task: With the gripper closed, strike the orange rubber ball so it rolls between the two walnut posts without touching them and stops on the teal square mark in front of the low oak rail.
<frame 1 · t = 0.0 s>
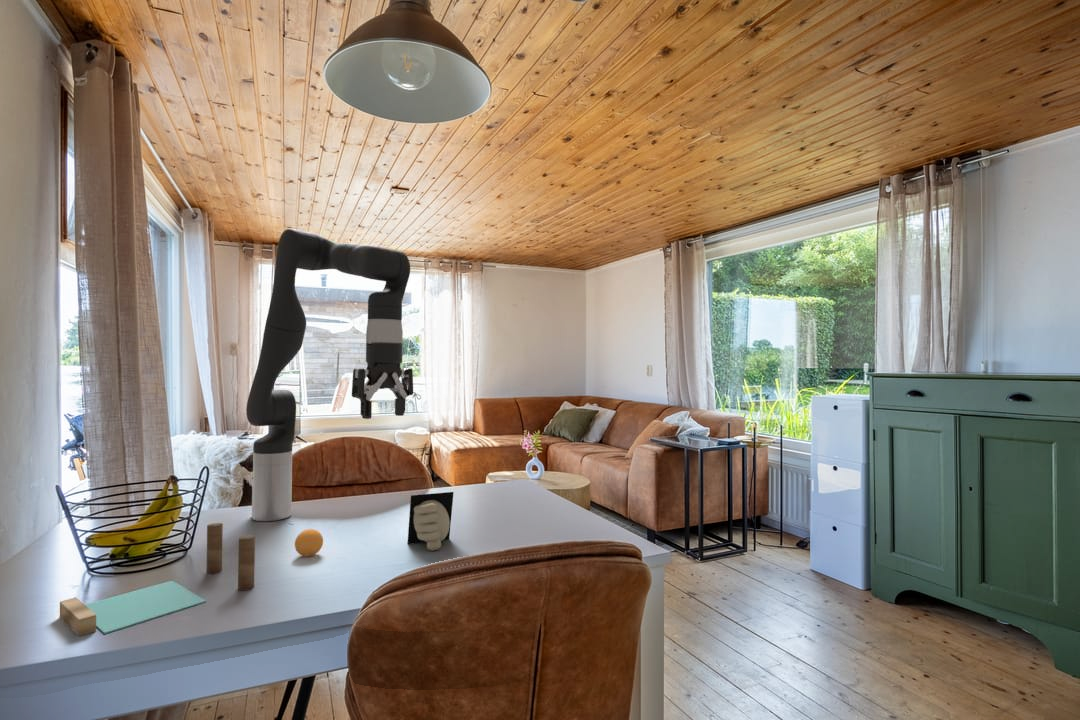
hand: (383, 417, 118), 29 cm above the table, tool pointing down, fingers open, 8 cm apart
ball: (309, 542, 116), on the table
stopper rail: (77, 624, 85), on the table
decorative object: (432, 547, 123), on the table
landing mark: (141, 605, 92), on the table
post 1: (214, 571, 107), on the table
post 2: (246, 587, 100), on the table
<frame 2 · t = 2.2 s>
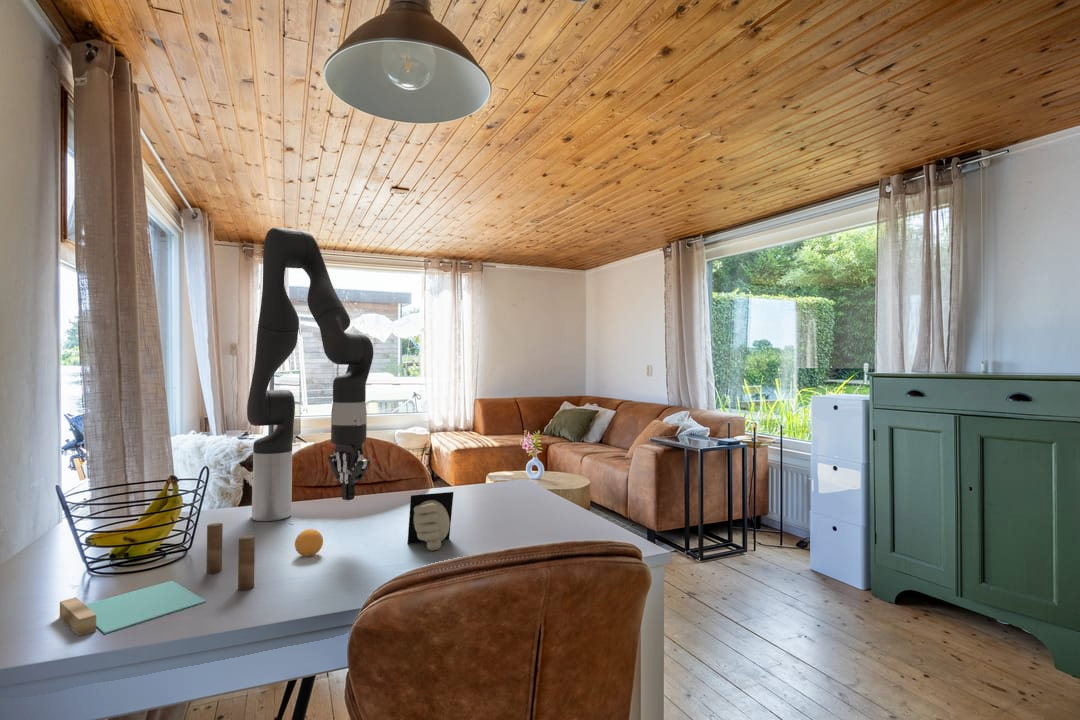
hand: (348, 499, 124), 10 cm above the table, tool pointing down, fingers closed
nothing on the table moved.
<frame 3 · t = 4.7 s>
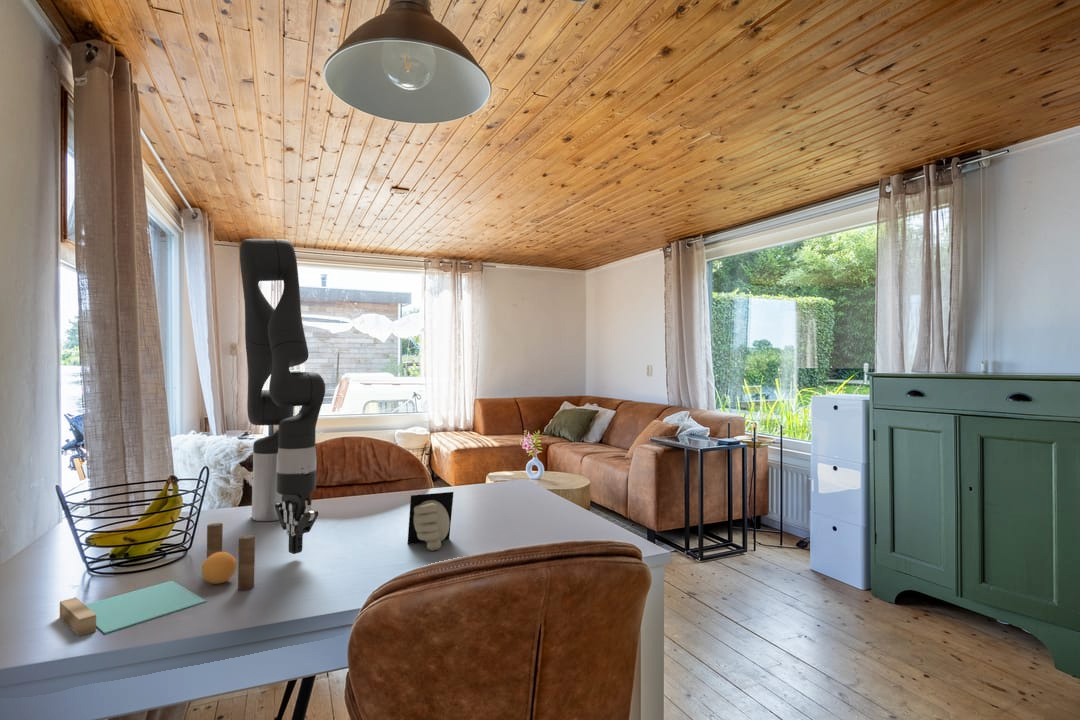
hand: (295, 552, 114), 1 cm above the table, tool pointing down, fingers closed
ball: (219, 567, 102), on the table
everything else where it was.
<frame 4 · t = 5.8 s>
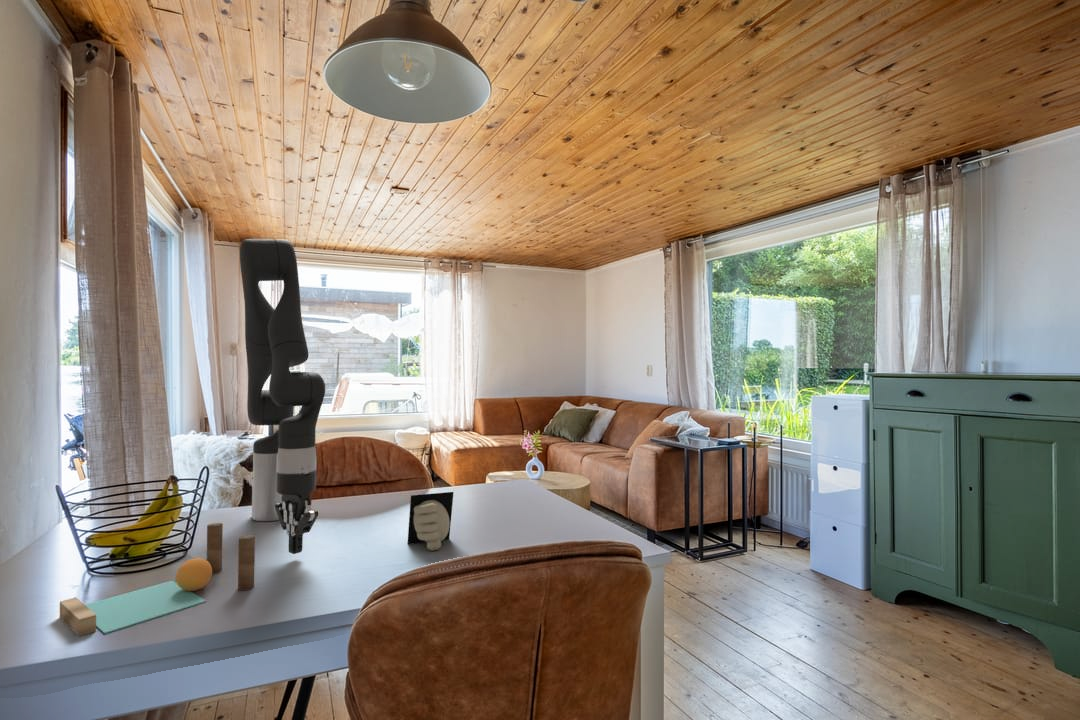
hand: (295, 552, 114), 1 cm above the table, tool pointing down, fingers closed
ball: (194, 574, 98), on the table
everything else where it was.
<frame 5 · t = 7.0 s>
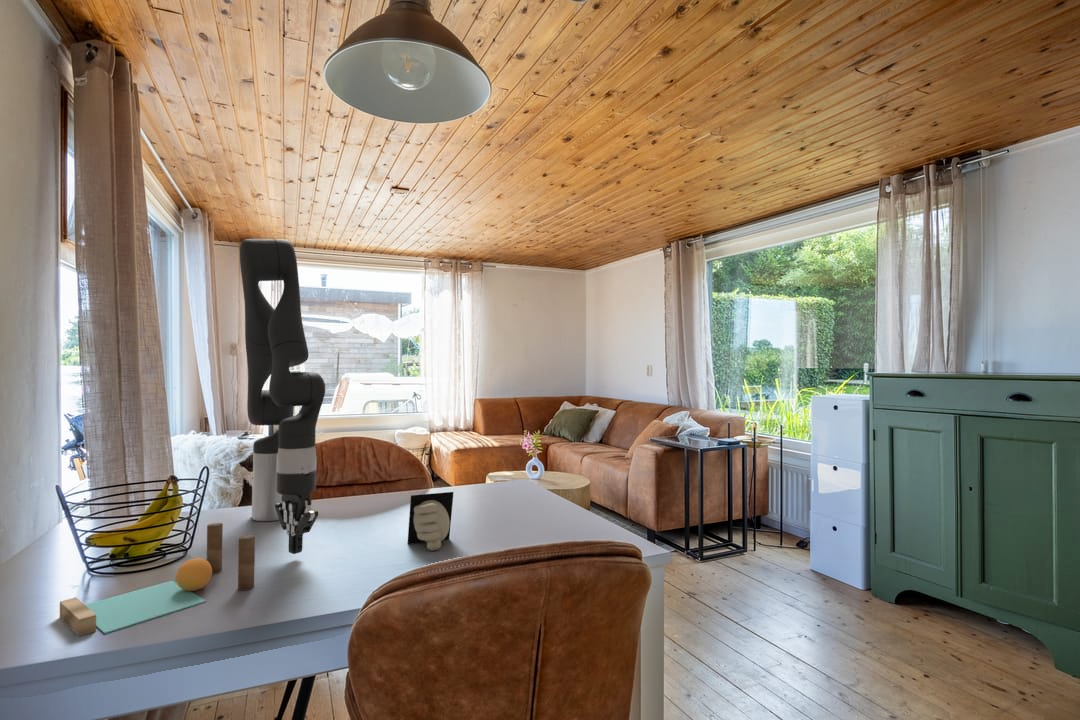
hand: (295, 552, 114), 1 cm above the table, tool pointing down, fingers closed
nothing on the table moved.
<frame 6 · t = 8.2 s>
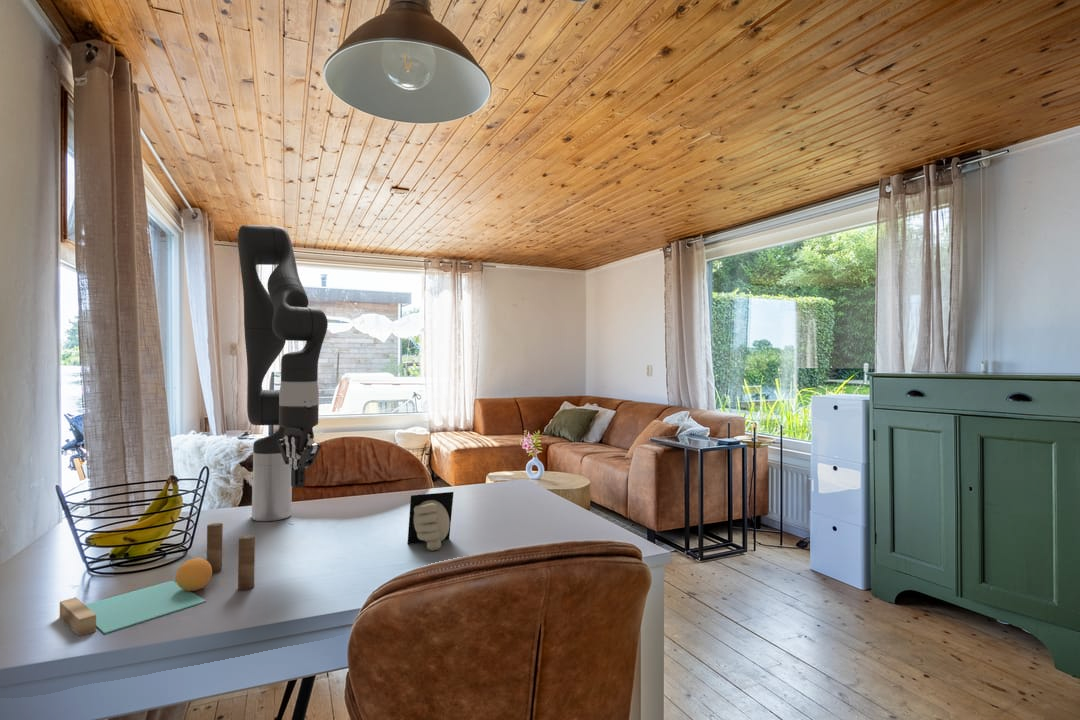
hand: (297, 486, 114), 15 cm above the table, tool pointing down, fingers closed
nothing on the table moved.
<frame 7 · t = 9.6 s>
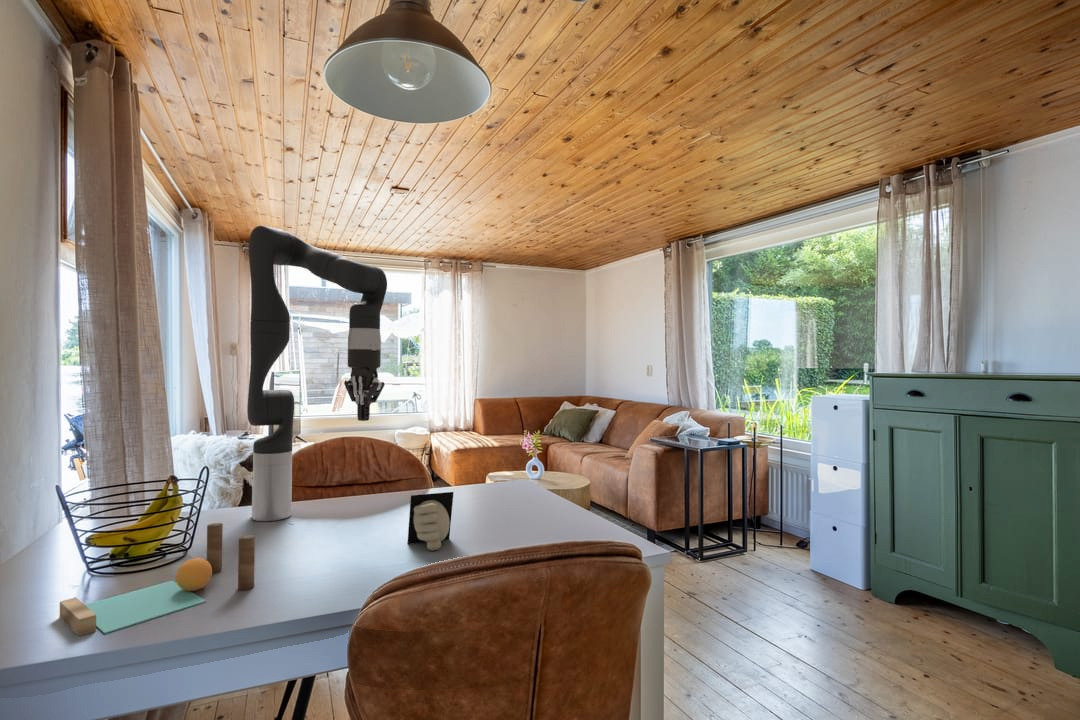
hand: (363, 420, 132), 27 cm above the table, tool pointing down, fingers closed
nothing on the table moved.
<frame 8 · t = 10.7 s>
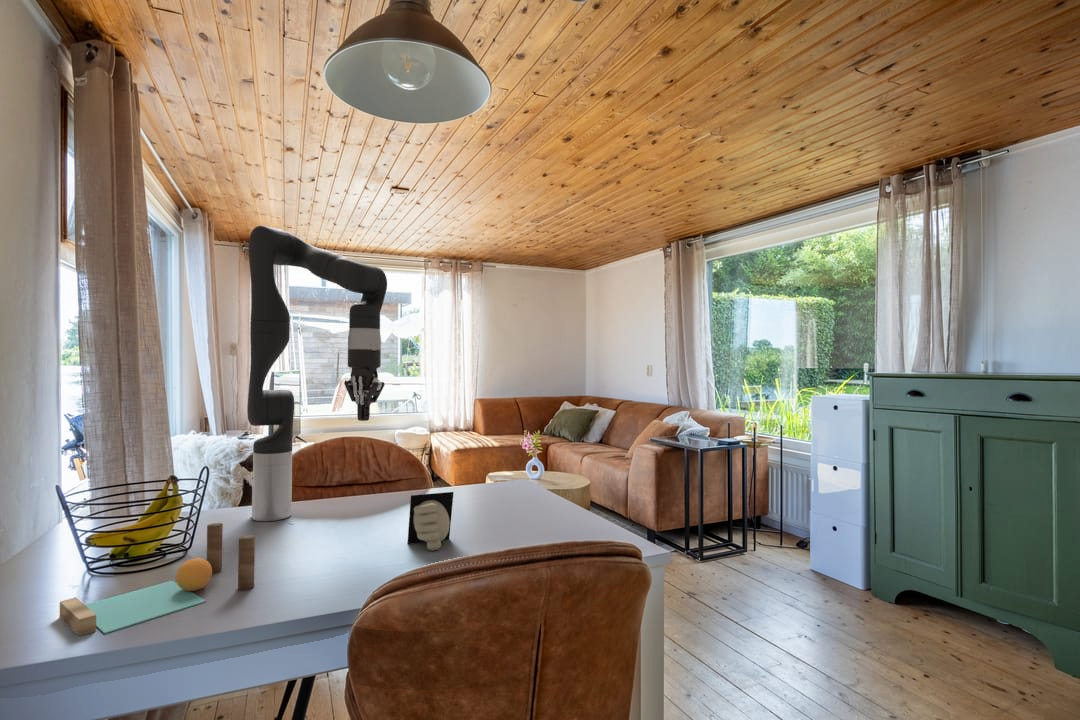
hand: (363, 420, 132), 27 cm above the table, tool pointing down, fingers closed
nothing on the table moved.
at the end: ball 7.9 cm from the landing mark (horizontally); ball never touched post 2; ball never touched post 1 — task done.
